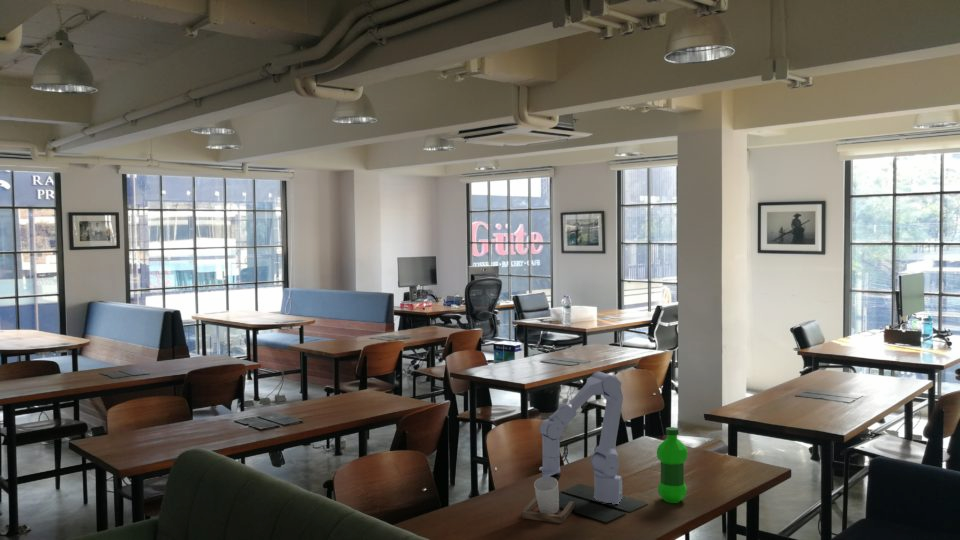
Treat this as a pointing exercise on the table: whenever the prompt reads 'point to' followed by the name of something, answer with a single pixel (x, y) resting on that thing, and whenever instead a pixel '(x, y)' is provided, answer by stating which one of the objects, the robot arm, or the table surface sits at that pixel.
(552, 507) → the white cup
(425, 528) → the table surface
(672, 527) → the table surface
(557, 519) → the walnut bay
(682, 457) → the plastic bottle
